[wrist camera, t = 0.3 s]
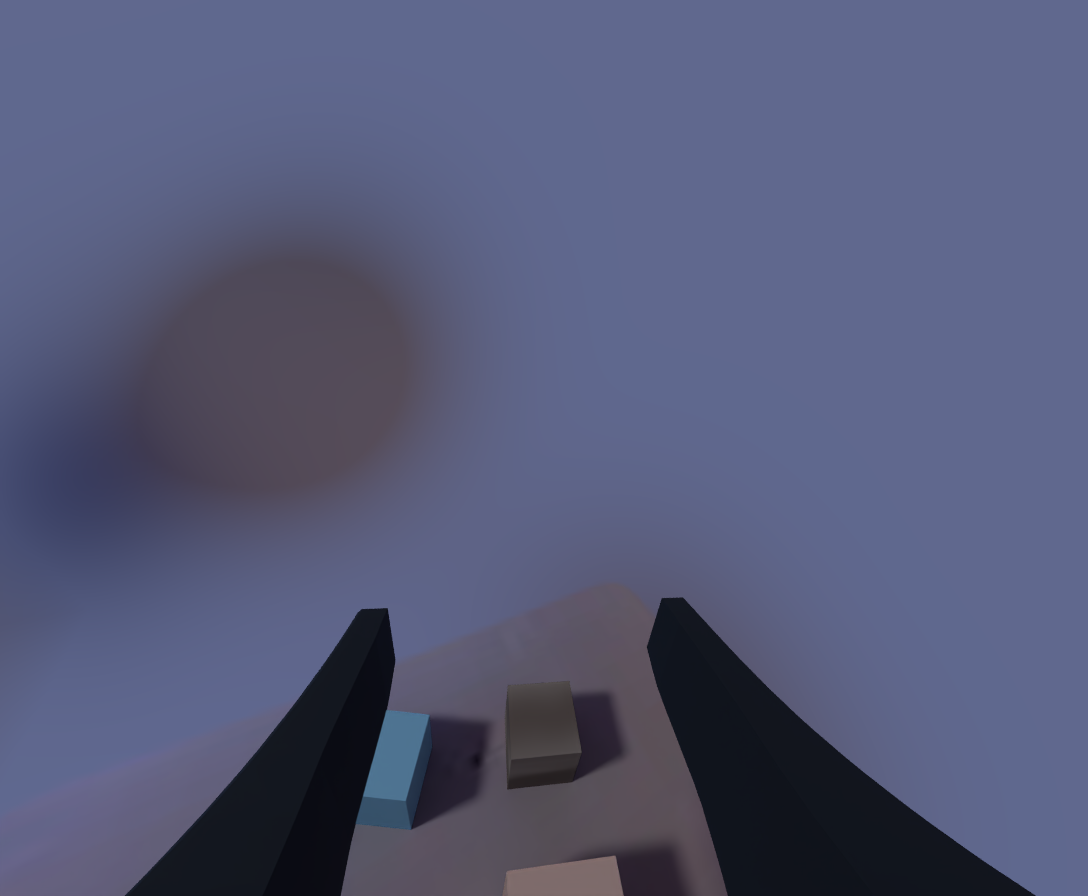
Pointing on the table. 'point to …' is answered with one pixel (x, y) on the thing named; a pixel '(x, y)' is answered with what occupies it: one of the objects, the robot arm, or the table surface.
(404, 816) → the dull teal block
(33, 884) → the table surface
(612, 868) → the terracotta block
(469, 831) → the table surface
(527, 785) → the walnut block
